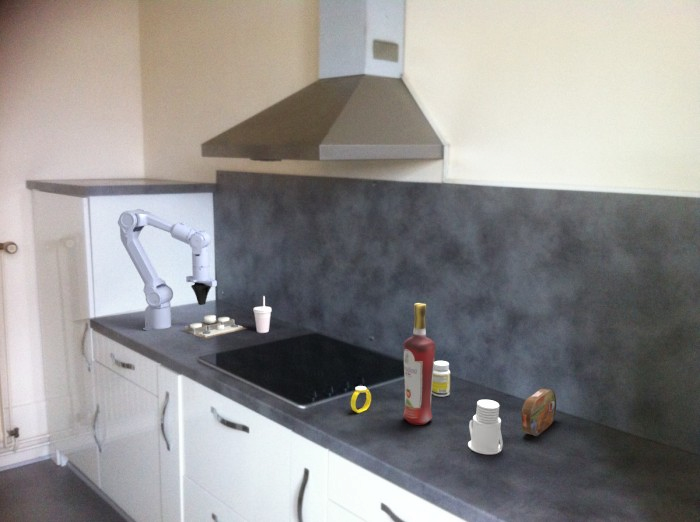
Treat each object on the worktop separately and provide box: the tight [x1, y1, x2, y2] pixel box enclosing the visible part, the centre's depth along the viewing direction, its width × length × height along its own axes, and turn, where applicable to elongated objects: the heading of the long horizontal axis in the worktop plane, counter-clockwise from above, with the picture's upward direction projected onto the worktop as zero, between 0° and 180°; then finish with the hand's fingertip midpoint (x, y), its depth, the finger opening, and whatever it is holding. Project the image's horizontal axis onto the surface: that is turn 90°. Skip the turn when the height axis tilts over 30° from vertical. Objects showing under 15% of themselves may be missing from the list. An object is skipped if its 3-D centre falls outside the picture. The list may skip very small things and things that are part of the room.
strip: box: [198, 324, 244, 337], centre depth 225 cm, size 4×16×2 cm, turn 139°
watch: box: [350, 385, 372, 414], centre depth 157 cm, size 6×3×6 cm, turn 136°
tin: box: [521, 388, 557, 437], centre depth 147 cm, size 15×3×8 cm, turn 142°
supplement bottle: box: [432, 360, 451, 398], centre depth 169 cm, size 5×5×8 cm
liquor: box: [402, 302, 436, 426], centre depth 150 cm, size 7×7×28 cm
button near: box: [189, 322, 202, 328], centre depth 224 cm, size 4×4×2 cm
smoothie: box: [252, 295, 273, 334], centre depth 225 cm, size 6×6×14 cm
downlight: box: [467, 399, 504, 455], centre depth 137 cm, size 8×7×10 cm
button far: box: [217, 316, 230, 322], centre depth 233 cm, size 4×4×2 cm
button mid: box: [203, 314, 217, 324], centre depth 228 cm, size 4×4×2 cm
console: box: [181, 317, 248, 339], centre depth 227 cm, size 14×18×4 cm
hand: (201, 304), depth 227 cm, fingers closed
